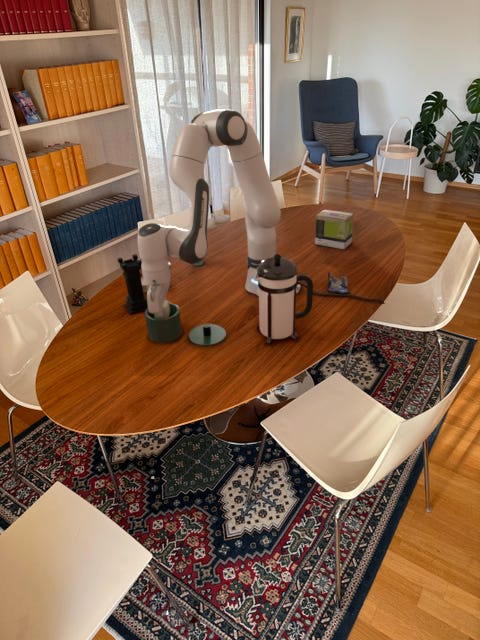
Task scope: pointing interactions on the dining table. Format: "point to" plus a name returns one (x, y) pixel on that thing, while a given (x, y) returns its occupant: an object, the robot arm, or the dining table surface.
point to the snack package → (337, 284)
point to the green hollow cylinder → (164, 325)
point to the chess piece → (133, 285)
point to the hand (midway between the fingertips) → (162, 310)
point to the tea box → (334, 229)
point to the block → (164, 310)
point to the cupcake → (200, 262)
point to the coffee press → (280, 297)
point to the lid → (207, 335)
